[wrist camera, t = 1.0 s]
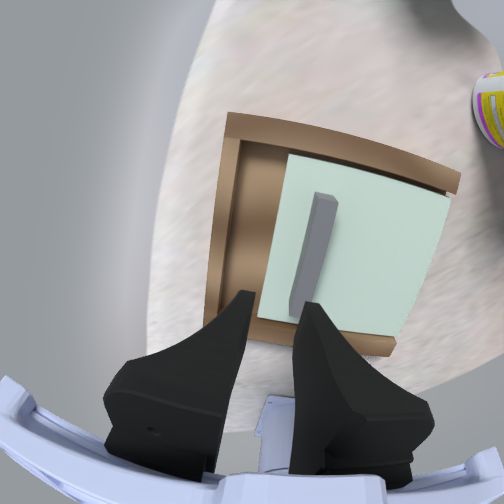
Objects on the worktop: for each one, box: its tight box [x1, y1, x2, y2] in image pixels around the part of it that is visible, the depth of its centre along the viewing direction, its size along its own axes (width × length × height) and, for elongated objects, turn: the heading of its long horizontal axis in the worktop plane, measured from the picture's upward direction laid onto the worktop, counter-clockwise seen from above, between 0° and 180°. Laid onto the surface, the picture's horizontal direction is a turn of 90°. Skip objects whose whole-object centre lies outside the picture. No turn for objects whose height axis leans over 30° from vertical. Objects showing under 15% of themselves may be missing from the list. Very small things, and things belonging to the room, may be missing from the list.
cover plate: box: [257, 153, 452, 337], centre depth 18 cm, size 12×12×3 cm
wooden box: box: [203, 112, 461, 357], centre depth 20 cm, size 16×16×3 cm
